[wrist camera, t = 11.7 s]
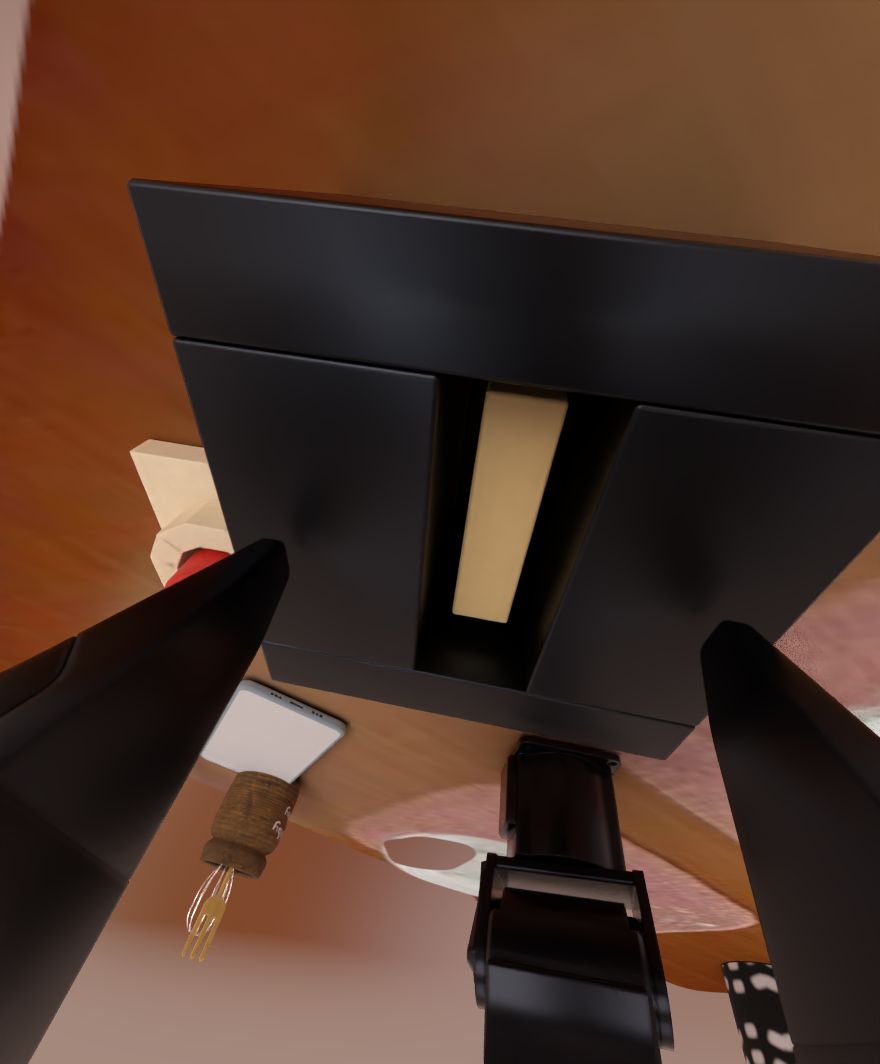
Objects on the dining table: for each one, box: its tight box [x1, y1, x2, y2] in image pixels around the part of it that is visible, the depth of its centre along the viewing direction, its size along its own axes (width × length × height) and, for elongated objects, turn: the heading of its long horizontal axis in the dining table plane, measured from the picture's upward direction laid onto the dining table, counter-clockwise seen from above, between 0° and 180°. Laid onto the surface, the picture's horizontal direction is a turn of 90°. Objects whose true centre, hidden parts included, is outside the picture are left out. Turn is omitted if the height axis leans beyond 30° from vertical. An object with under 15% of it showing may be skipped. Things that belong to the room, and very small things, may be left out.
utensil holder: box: [181, 771, 300, 962], centre depth 35 cm, size 6×6×12 cm
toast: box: [452, 381, 569, 623], centre depth 13 cm, size 6×2×6 cm, turn 175°
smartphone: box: [200, 680, 346, 784], centre depth 34 cm, size 8×1×15 cm
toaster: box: [127, 178, 880, 760], centre depth 12 cm, size 12×12×8 cm
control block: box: [130, 439, 234, 587], centre depth 20 cm, size 10×8×3 cm
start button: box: [165, 548, 231, 588], centre depth 18 cm, size 4×4×2 cm
